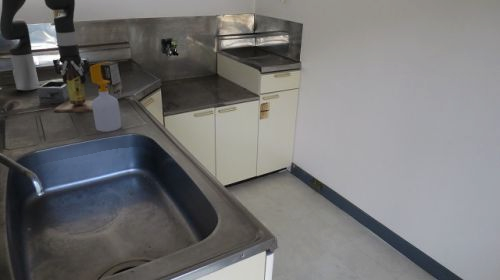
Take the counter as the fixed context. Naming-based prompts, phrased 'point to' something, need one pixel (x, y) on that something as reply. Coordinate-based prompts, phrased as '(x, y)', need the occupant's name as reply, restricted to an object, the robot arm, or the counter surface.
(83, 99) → the sauce bottle
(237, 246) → the counter surface
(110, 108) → the spray bottle
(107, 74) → the coffee box
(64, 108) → the walnut board
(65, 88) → the grey open box
